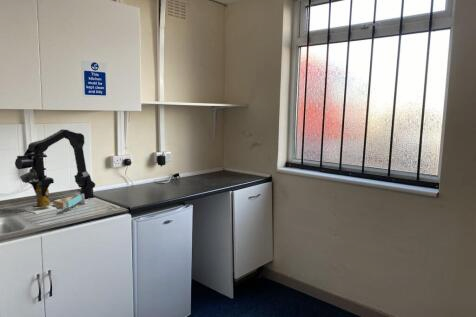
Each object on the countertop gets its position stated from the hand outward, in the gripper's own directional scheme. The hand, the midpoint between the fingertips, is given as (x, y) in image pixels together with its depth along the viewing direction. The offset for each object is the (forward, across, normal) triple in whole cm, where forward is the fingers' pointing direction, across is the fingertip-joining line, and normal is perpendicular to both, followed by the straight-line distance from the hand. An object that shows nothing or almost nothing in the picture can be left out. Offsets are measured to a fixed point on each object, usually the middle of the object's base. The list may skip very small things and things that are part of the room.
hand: (40, 195), depth 193 cm
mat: (+8, 0, 0) cm, 8 cm away
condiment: (+6, 0, 0) cm, 6 cm away
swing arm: (+5, +14, +11) cm, 18 cm away
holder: (+8, +3, +14) cm, 16 cm away
